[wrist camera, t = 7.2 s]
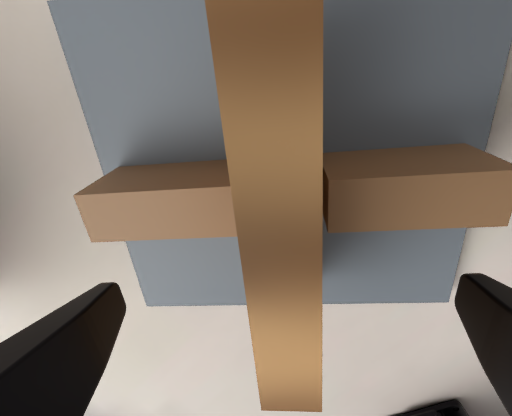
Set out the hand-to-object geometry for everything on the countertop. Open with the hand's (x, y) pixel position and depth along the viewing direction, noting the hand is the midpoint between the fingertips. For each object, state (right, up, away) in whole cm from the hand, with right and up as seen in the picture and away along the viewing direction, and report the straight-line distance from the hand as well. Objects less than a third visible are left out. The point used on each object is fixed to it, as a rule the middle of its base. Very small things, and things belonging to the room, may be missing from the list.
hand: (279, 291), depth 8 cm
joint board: (+1, +4, +9) cm, 10 cm away
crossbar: (+1, +4, +8) cm, 9 cm away
